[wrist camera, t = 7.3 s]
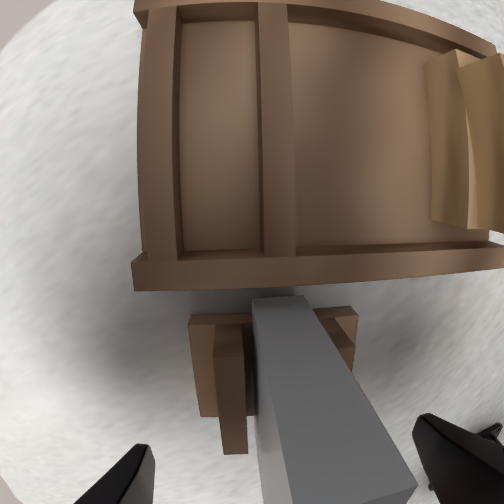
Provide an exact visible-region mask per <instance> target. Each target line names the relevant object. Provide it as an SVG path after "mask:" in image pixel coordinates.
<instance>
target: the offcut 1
mask: <svg viewBox="0 0 504 504" xmlns="http://www.w3.org/2000/svg"><path fill="white" fill-rule="evenodd" d="M479 60H481V59H479V58H476V57H474V56H472V55H469V54H467V53H465V52H462V51H460V50H457V49H454V50H452V51H450V52H448V53H446V54H444V55H442V56H440V57H438V58H436V59H434V60H432V61H430V62H428V63H426V64H424V65H423V70H424V76H425V83H426V91H427V100H428V110H429V121H430V136H431V159H432V199H431V220H434V221H438V222H442V223H446V224H450V225H454V226H458V227H462V228H466V229H485V228H481V227H478V204H477V188H476V176H475V166H474V157H473V149H472V142H471V136H470V130H469V124H468V118H467V113H466V108H465V104H464V99H463V95H462V90H461V86H460V82H459V78H458V75H457V71H456V69H458V68H461V67H463V66H466V65H468V64H471V63H474V62H476V61H479Z"/></svg>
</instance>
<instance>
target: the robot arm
mask: <svg viewBox="0 0 504 504" xmlns="http://www.w3.org/2000/svg"><path fill="white" fill-rule="evenodd" d="M502 427H503V426H502V425H501V424H500V423H499V424H497V425H495V426H494V427H492V428H490V429H488V430H486V431H484V432H482V433H480V434H478V435H476V434H473V433H471V432H469V431H467V430H465V429H462V428H460V427H458V426H456V425H454V424H452V423H450V422H447V421H445V420H443V419H441V418H439V417H437V416H435V415H433V414H431V413H426V414H422V415H420V416H419V417H418V418H417V421H416V423H415V426H414V428H413V431H412V437H413V440H414V442H415V445H416V448H417V451H418V454H419V457H420V460H421V462H422V465H423V468H424V470H425V472H426V474H427V477H428V479H429V481H430V483H431V484H430V485H429V487H428V488H429V490H430V491H432V490H434V491H435V493H436V495H437V498H438V500H439V502H440V504H504V446H503V445H502V444H501V443H500V442H499V440H498V439H497V436H498V435H499V433H500V431H501V429H502ZM154 475H155V459H154V457H153V454H152V451H151V448H150V446H149V445H147V444H135V445H134V446H133V447H132V448H131V449H130V450H129V451H128V452H127V453H126V454H125V455H124V456H123V457H122V458H121V459H120V460H119V461H118V462H117V463H116V464H115V465H114V466H113V467H112V468H111V469H110V470H109V471H108V472H107V473H106V474H105V475H104V476H102V477H101V478H100V479H99V480H98V481H97V482H96V483H95V484H94V485H93V486H92V487H91V488H90V489H89V490H88V491H87V492H85V493H84V494H83V495H82V496H81V497H80V498H79V499H78V500H77V501H76V502H75V503H74V504H153V491H154Z"/></svg>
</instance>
